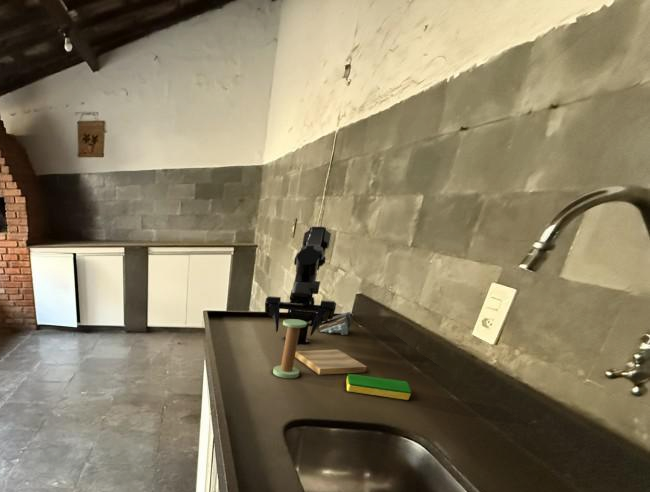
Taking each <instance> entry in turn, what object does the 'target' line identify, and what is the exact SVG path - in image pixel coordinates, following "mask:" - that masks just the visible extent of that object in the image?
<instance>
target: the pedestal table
mask: <svg viewBox="0 0 650 492" xmlns="http://www.w3.org/2000/svg"><path fill="white" fill-rule="evenodd" d="M282 325H283V326H285V327H287V329H286V335H285V337H286V339H284V345H283V352H282V359H281V364H280V365H276V366H274V367H273V370H272V373H273V375H274V376H276V377H278V378H282V379H296V378H298V377H299V376H300V369H298V368H297V367H294V364H295V358H296V357H295V354H296V351H297V348H298V344H299V343H298V337H299V332H300V328H302V327H306V325H307V323H306V322H305V321H303V320H298V319H287V318H286V319H283V321H282Z"/></svg>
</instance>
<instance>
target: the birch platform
mask: <svg viewBox="0 0 650 492" xmlns="http://www.w3.org/2000/svg"><path fill="white" fill-rule="evenodd" d="M295 358H296V359H297V360H299V361H300V362H301V363H302V364H304V365H305V366H306V367H308V368H309V369H311V370H312V371H313V372H315V373H316V374H317V375H319V376H321V375H340V374H358V373H359V374H360V373H367V372H366V371H367V368H368V366H367V365H365V364H363V363H362V362H360V361H358V360H356V359H355V358H353V357H351V356H350V355H348V354H346V353H345V352H343V351H341V350H340V349H316V350H296V354H295Z"/></svg>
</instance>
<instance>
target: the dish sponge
mask: <svg viewBox="0 0 650 492" xmlns="http://www.w3.org/2000/svg"><path fill="white" fill-rule="evenodd" d="M345 382H346V391H347V392H351V393H359V394H363V395H364V394H365V395H372V396H379V397H384V398H385V397H386V398H391V399H397V400H405V401H408V400H410V397H411V394H412V390H411V387H410V384H409V382H408V381H406V380H398V379H390V378H383V377H376V376H367V375H359V374H354V373H347V376H346V381H345Z"/></svg>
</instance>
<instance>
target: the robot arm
mask: <svg viewBox="0 0 650 492" xmlns="http://www.w3.org/2000/svg"><path fill="white" fill-rule="evenodd" d="M303 233H304V234H303V238H302V244H301V245H302V246H301V247H300V249H299V252H297V253H296V255H295V257H294V260H293V261H294V263H293V264H294V266H295V277H294V281H293V284H292V289H291V291H290V294H289V301H282V300H281V299H282V297H281V296H275V295H274V296H271V295H268V296H267V297H266V298H265V302H264V313H265V314H267V315H268V316H269V317H272V319H273V322H274V328H275V332H276V333H277V332H278V331H279V327H280V324H279V323H280V310H287V314H286V316H287V317H286V319H298V320H303V321H305V322H306V323H307V325H306V327H302V328H300V332H299V337H298V343H297V344H310V340H308V339H307V337H308V330H309V327H311V330H310V337H311V336H313V335H314V333H315V332H316V331H317V329H318V326H319V325H320V324H321V323H322V322H323V321H327V320H328V319H333V317H334V315H335V312H336V307H337V302H336V301H335V300H324V299H321V300H320V304H316V303H315V302H316V301H315V298H314V296H313V295H318V294H319V291H320V286H321V281H319V280H317V276H318V273H317V272H318V271H319V270H320V267H323V266H324V264H325V263H326V260H327V257H326V256H325V255H326V250H327V249H329V247H330V243H331V236H332V233H331V232H329V231H328V230H327V227H325V226H310V227H309V230H307V231H306V232H303ZM283 339H284V340H286V336H283Z"/></svg>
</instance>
